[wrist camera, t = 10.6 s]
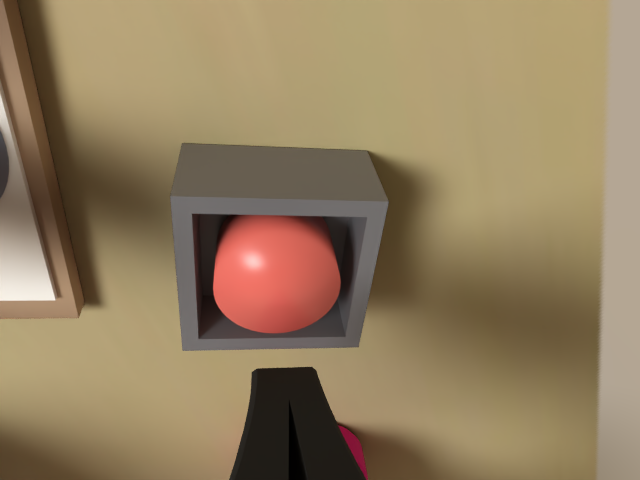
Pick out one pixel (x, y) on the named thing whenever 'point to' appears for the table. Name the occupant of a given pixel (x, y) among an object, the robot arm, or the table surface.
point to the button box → (274, 199)
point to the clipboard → (30, 194)
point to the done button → (275, 271)
